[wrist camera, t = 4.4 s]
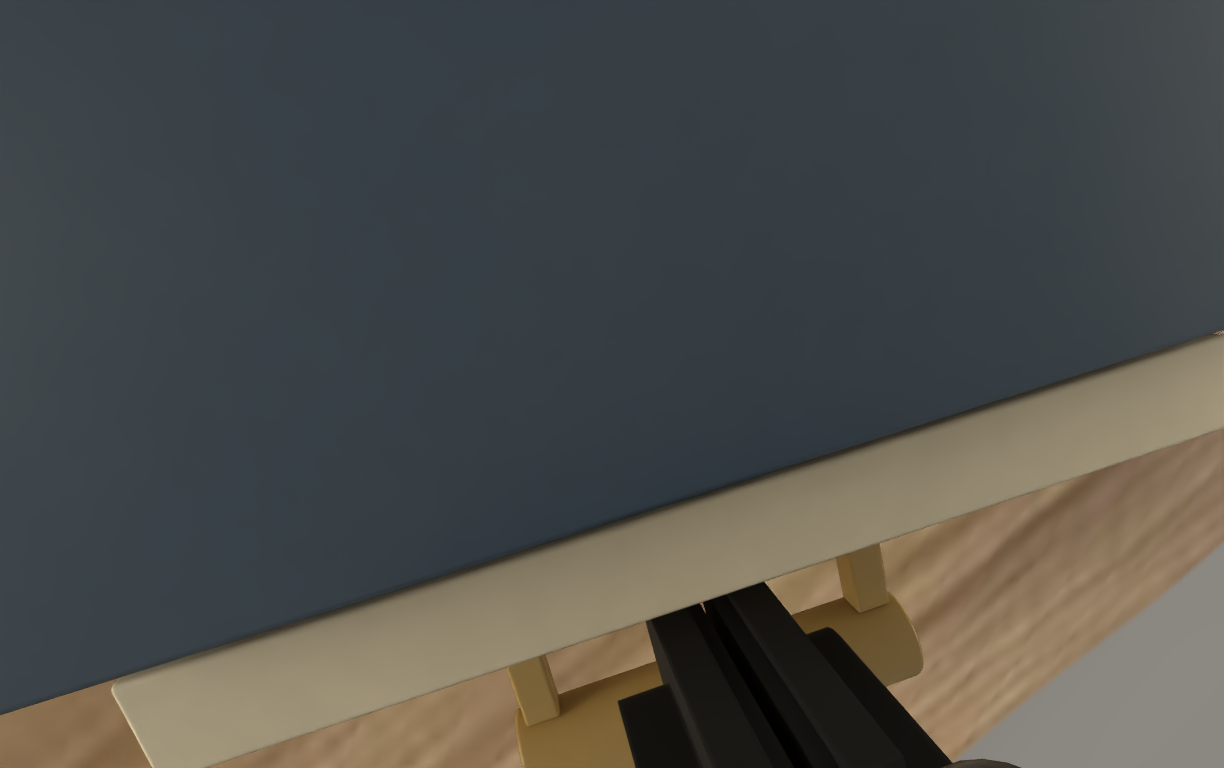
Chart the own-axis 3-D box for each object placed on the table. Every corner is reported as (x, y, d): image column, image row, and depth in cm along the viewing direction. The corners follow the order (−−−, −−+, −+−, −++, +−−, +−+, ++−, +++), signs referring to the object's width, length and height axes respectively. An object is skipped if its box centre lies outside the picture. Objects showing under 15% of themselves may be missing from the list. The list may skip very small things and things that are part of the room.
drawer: (898, 520, 17) (1230, 755, 9) (413, 680, 15) (333, 1109, 8) (743, -515, 12) (1220, -1953, 4) (-14, -407, 10) (-1495, -2269, 3)
